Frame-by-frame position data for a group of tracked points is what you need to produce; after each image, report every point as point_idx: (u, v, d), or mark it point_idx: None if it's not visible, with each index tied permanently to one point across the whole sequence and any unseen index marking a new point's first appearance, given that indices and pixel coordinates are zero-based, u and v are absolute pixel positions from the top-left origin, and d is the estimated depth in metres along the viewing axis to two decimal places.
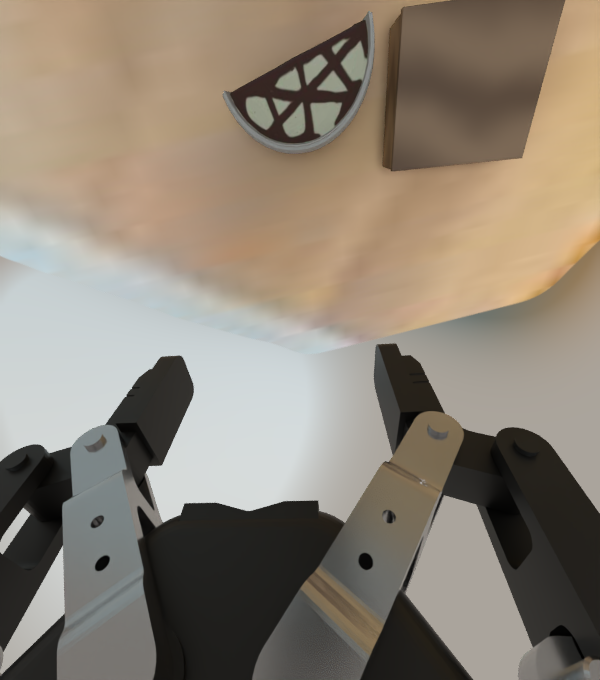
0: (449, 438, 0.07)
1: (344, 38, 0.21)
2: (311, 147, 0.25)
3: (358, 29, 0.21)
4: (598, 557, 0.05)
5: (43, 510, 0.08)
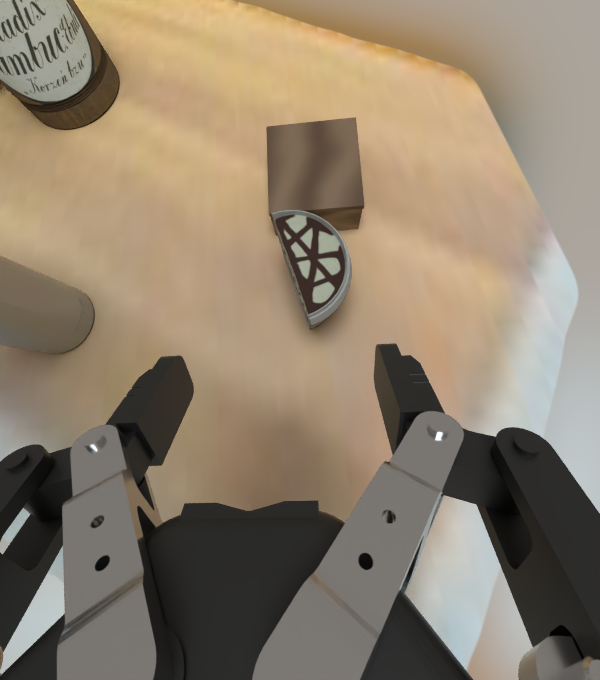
0: (449, 438, 0.07)
1: (283, 231, 0.30)
2: None
3: (279, 222, 0.30)
4: (598, 557, 0.05)
5: (43, 510, 0.08)
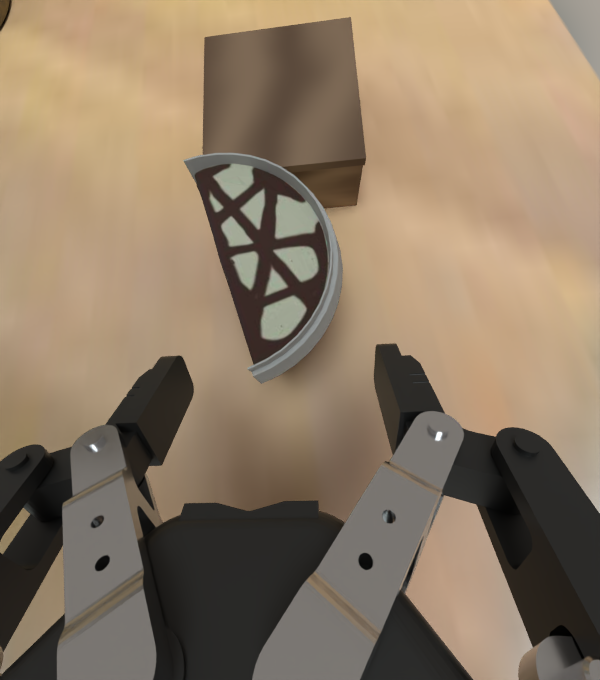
0: (449, 438, 0.07)
1: (208, 197, 0.16)
2: (334, 235, 0.14)
3: (202, 180, 0.16)
4: (598, 557, 0.05)
5: (43, 510, 0.08)
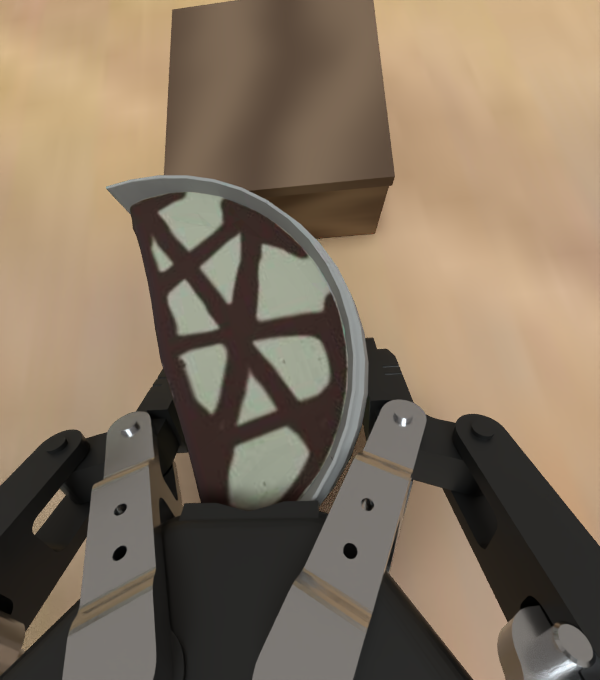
0: (412, 424, 0.08)
1: (150, 246, 0.10)
2: (357, 318, 0.08)
3: (140, 218, 0.10)
4: (553, 526, 0.06)
5: (76, 494, 0.09)
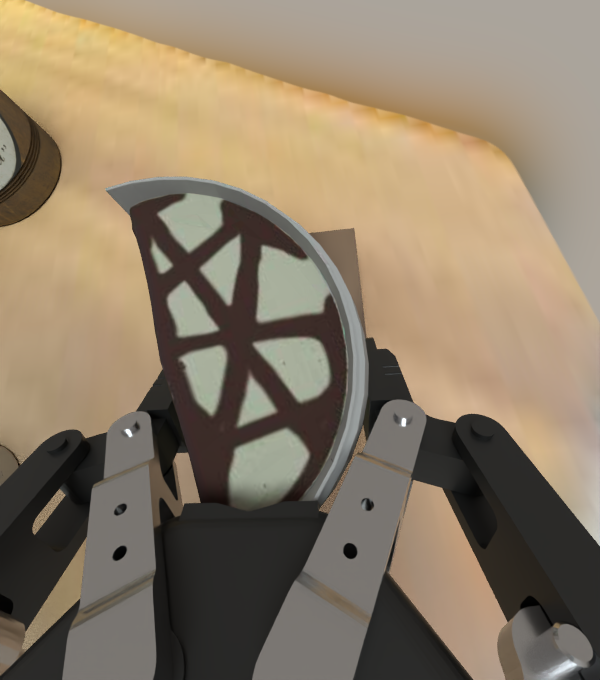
0: (412, 424, 0.08)
1: (149, 247, 0.10)
2: (357, 319, 0.08)
3: (140, 220, 0.10)
4: (554, 526, 0.06)
5: (76, 494, 0.09)
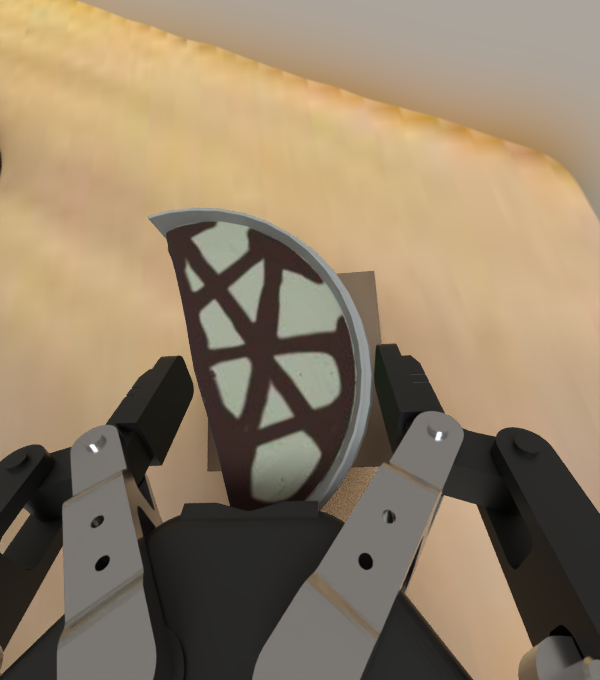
0: (449, 438, 0.07)
1: (184, 268, 0.11)
2: (365, 338, 0.10)
3: (175, 243, 0.11)
4: (598, 557, 0.05)
5: (43, 510, 0.08)
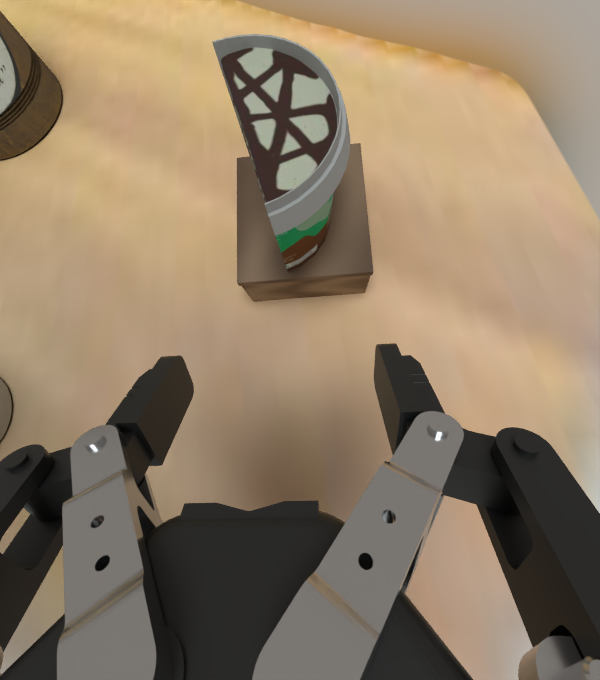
0: (449, 438, 0.07)
1: (233, 77, 0.18)
2: (343, 104, 0.16)
3: (227, 63, 0.18)
4: (598, 557, 0.05)
5: (43, 510, 0.08)
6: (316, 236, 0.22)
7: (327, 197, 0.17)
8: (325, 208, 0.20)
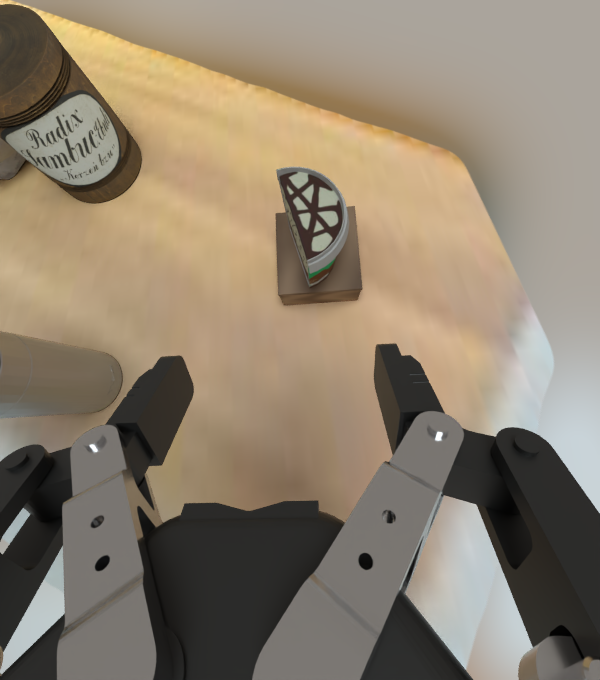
0: (449, 438, 0.07)
1: (286, 187, 0.33)
2: (345, 206, 0.32)
3: (283, 179, 0.33)
4: (598, 557, 0.05)
5: (43, 510, 0.08)
6: (328, 268, 0.37)
7: (337, 253, 0.32)
8: None
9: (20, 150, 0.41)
